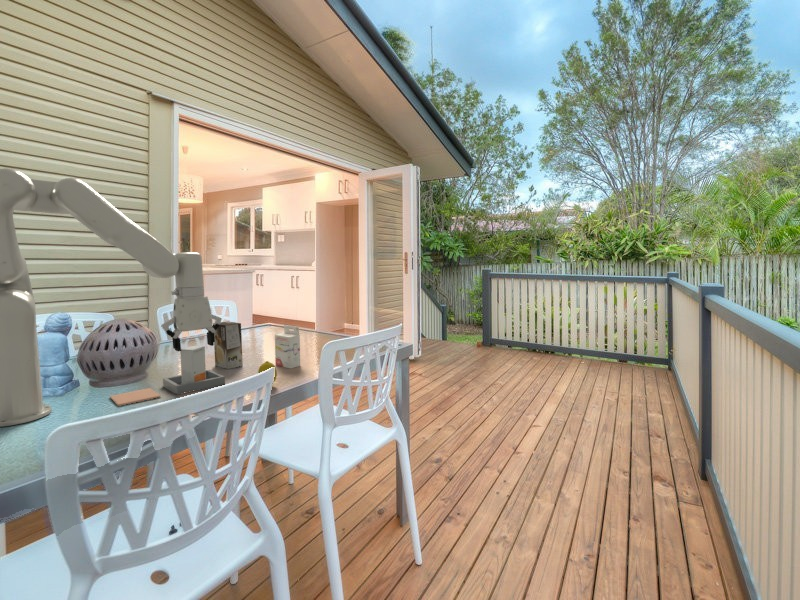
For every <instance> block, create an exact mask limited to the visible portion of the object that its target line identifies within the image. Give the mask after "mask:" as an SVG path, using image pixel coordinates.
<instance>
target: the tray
mask: <svg viewBox="0 0 800 600" xmlns="http://www.w3.org/2000/svg"><path fill="white" fill-rule="evenodd" d="M223 384H224V385H226V376H225V375H223V374H220V373H218V372H215V371H213V370H211V369H206V380H201V381H196V382H191V383H187V384H182V379H181V374H180V375H179V374H178V375H174V376H169V377H164V378H162V387H164V388H165V389H167V390H168V389H169V390H168V391H170V392H172V393H173V392H174V393H173V394H175V395H176V394H177V396H179V395H182V394H181V393H183V394H185V393H184V392H188V393H190V392H189V391H193V390H195V391H193V392H196V391H200V390H199V389H202V390H205V388H206V389H211V388H215V387H221V386H224V385H223ZM178 394H179V395H178Z"/></svg>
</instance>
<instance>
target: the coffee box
mask: <svg viewBox="0 0 800 600" xmlns="http://www.w3.org/2000/svg"><path fill="white" fill-rule="evenodd" d="M214 323H215V322H212V325H213V324H214ZM214 339H215V342H214V345H213V347H214V366H215V367H219V368H223V369H226V370H230V369H234V368H238V367H239V366H240V367H243V366H244V363H243V362H244V361H243V342H242V339H243V338H242V323H240V322H235V321H228V320H227V321H221V322H220V324H219V327H218V328H217V330H216V331H215V333H214Z"/></svg>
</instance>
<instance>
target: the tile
mask: <svg viewBox="0 0 800 600" xmlns="http://www.w3.org/2000/svg"><path fill="white" fill-rule="evenodd" d="M157 397H160V398H161V395H160V394H159V393H158V392H156V391H154V390H153V389H152V388H150V387H148V388H142V389H137V390H133V391H129V392H123V393H118V394H114V395H113V394H112V395H109V399H110V400H111V399H112V400H113V401H114V402H115V405H116V406H117V407H122V406H121V405H124V406H127V405H126V404H128V405H132V404H131V403H133V404H137V403H136V402H138V403H141V402H140V401H142V402H145V401H144V400H147V401H150V400H149V399H151V400H154V399H153V398H156V399H158V398H157ZM112 400H111V401H112ZM113 401H112V402H113ZM114 402H113V403H114Z"/></svg>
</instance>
